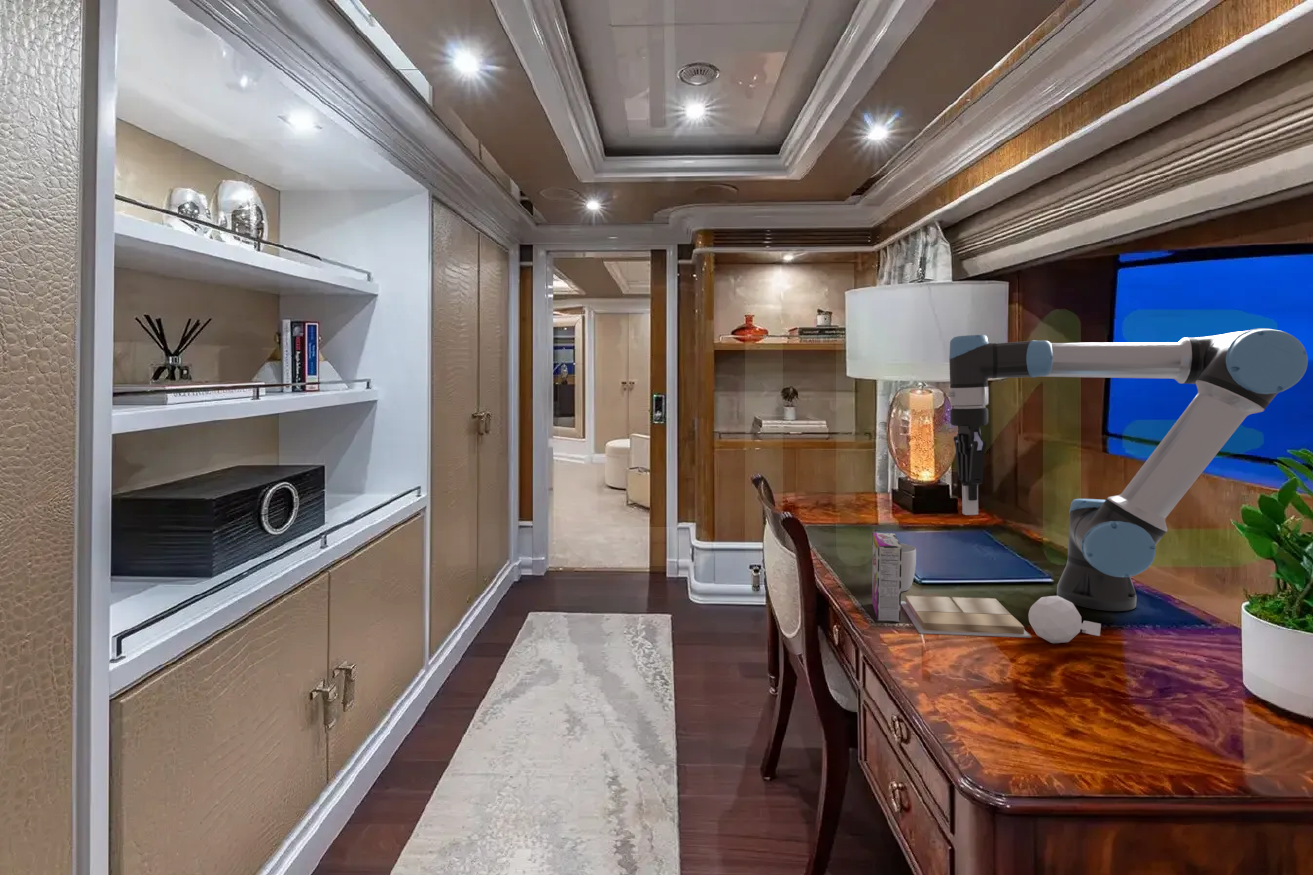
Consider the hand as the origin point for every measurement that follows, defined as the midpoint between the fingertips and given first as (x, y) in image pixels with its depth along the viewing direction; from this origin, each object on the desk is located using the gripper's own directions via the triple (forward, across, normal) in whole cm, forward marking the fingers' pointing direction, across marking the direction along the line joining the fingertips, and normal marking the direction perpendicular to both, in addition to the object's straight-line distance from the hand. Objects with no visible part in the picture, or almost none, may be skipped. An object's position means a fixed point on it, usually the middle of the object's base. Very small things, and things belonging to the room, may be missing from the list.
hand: (970, 513), depth 150 cm
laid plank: (+21, +14, -6) cm, 25 cm away
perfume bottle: (+22, +20, +10) cm, 31 cm away
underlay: (+21, +9, -5) cm, 23 cm away
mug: (+20, -13, -13) cm, 27 cm away
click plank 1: (+20, +5, -10) cm, 23 cm away
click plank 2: (+20, +6, 0) cm, 21 cm away
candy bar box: (+20, +6, -20) cm, 29 cm away
